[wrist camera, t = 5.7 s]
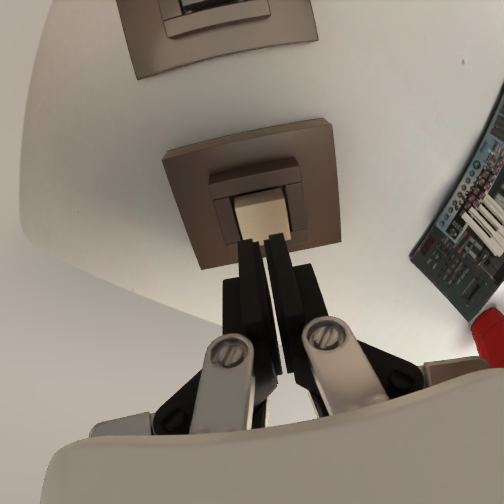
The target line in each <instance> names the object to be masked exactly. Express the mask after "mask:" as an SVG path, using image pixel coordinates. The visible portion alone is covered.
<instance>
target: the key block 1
mask: <svg viewBox="0 0 504 504" xmlns="http://www.w3.org/2000/svg"><path fill="white" fill-rule="evenodd" d="M116 2H117V6H118V10H119V14H120V18H121V22H122V26H123V30H124V34H125V38H126V42H127V46H128V49H129V53H130V57H131V60H132V64H133V68H134V71H135V75H136V78H137V80H140V79H143V78H147V77H150V76H153V75H156V74H159V73H162V72H165V71H168V70H172V69H175V68H178V67H182V66H185V65H189V64H193V63H196V62H200V61H204V60H208V59H212V58H216V57H221V56H225V55H230V54H235V53H239V52H245V51H250V50H255V49H261V48H267V47H274V46H281V45H288V44H297V43H306V42H314V41H318V40H319V39H318V34H317V29H316V24H315V20H314V15H313V10H312V6H311V1H310V0H233V1H227V2H223V3H218V4H213V5H209V6H205V7H201V8H197V9H193V10H189V11H187V10H186V9H185V8H184V7H183V6H182V2H181V0H116Z"/></svg>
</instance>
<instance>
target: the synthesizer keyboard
mask: <svg viewBox="0 0 504 504" xmlns="http://www.w3.org/2000/svg"><path fill="white" fill-rule="evenodd" d="M410 261H411V262H412V263H413V264H414V265H415V266H416V267H417V268H418V269H419V270H420V271H421V272H422V273H423V274H424V275H425V276H426V277H427V278H428V279H429V280H430V281H431V282H432V283H433V284H434V285H435V286H436V287H437V288H438V289H439V290H440V292H441V293H442V294H443V295H444V296H445V297H446V298H447V299H448V300H449V301H450V302H451V303H452V305H453V306H454V307H455V308H456V309H457V310H458V311H459V312H460V313H461V315H462V316H463V317H464V318H465V319H466V320H467V321H468V322H470V321H471V320H472V319H473V318H474V317H475V315H476V314H477V313H478V312H479V311H480V310H481V308H482V307H483V306H484V305H485V304H486V302H487V301H488V300H489V299H490V298H491V296H492V295H493V294H494V293H495V291H496V290H497V289H498V287H499V286H500V285H501V284H502V282H503V281H504V92H503V94H502V97H501V99H500V102H499V104H498V106H497V108H496V111H495V113H494V115H493V117H492V120H491V122H490V124H489V126H488V128H487V130H486V132H485V134H484V137H483V139H482V141H481V143H480V145H479V147H478V149H477V150H476V152H475V154H474V156H473V158H472V160H471V162H470V164H469V166H468V168H467V169H466V171H465V173H464V175H463V177H462V178H461V180H460V182H459V184H458V185H457V187H456V189H455V191H454V192H453V194H452V196H451V197H450V199H449V201H448V202H447V204H446V206H445V207H444V209H443V211H442V212H441V214H440V215H439V217H438V219H437V220H436V222H435V223H434V225H433V226H432V228H431V230H430V231H429V233H428V234H427V236H426V237H425V239H424V240H423V242H422V243H421V245H420V246H419V247H418V249H417V250H416V252H415V253H414V255H413V256H412V258H411V259H410Z"/></svg>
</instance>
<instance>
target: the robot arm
mask: <svg viewBox="0 0 504 504" xmlns="http://www.w3.org/2000/svg"><path fill="white" fill-rule="evenodd" d="M268 236H269V239H267V240H263V241H264V247H265V253H266V258H267V264H268V270H269V276H270V281H271V287H272V293H273V299H274V305H275V311H276V316H277V322H278V327H279V332H280V337H281V342H282V347H283V352H284V358H285V363H286V368H287V373H293V372H294V376H295V381H296V383H297V384H298V385H300V386H302V387H304V388H306V389H307V391H308V395H309V397H310V400H311V402H312V405H313V408H314V410H315V413H316V415H317V418H318V419H313V420H308V421H302V422H297V423H292V424H285V425H279V426H273V427H268V417H269V401H270V400H269V395H270V394H271V393H272V392H273V390H274V389H275V388H276V387H277V384H278V382H277V381H278V380H277V375H282V367H281V360H280V354H279V348H278V341H277V335H276V328H275V322H274V316H273V309H272V303H271V298H270V292H269V288H268V283H267V278H266V273H265V268H264V264H263V259H262V254H261V249H260V245H259V241H257V242H253V239H252V238H251V239H246V240H241V241H238V262H239V277H236V278H231V279H225V280H223V335H222V336H220V337H218V338H216V339H215V340H214V341H212V342H211V344H210V345H209V346H208V348H207V351H206V353H205V358H204V363H203V368H202V369H201V370H200V371H199V372H198V373H197V374H196V375H195V376H194V377H193V378H192V379H191V380H189V382H187V383H186V384H185V385H184V386H183V387H182V388H181V389H180V390H179V391H178V392H176V393H175V394H174V395H173V396H172V397H171V398H170V399H169V400H168V401H166V402H165V403H164V404H163V405H162V406H161V407H160V408H159V409H158V410H157V412H156V413H152V414H150V413H149V412H144V413H141V414H136V415H132V416H127V417H123V418H119V419H114V420H110V421H105V422H101V423H98V424H96V425H95V426H94V427H93V428H92V430H91V431H90V433H89V438H86V439H83V440H79V441H76V442H73V443H71V444H69V445H66V446H64V447H63V448H61V449H60V450H58V451H57V452H56V453H55V454H54V456H53V457H52V459H51V461H50V463H49V466H48V468H47V471H46V475H45V479H44V483H43V487H42V493H41V500H40V504H504V368H491V366H490V364H489V363H488V362H487V361H486V360H485V359H484V358H481V357H479V356H471V357H464V358H457V359H450V360H442V361H434V362H425V363H424V365H423V366H416V365H414V364H412V363H411V362H408V361H406V360H403V359H401V358H399V357H396V356H394V355H391V354H389V353H387V352H384V351H382V350H380V349H377V348H375V347H373V346H370V345H368V344H366V343H363V342H361V341H359V340H356V338H355V336H354V334H353V333H352V331H351V329H350V328H349V326H348V325H347V324H346V323H345V322H344V321H343V320H341V319H339V318H336V317H333V316H328V312H327V309H326V306H325V303H324V300H323V297H322V294H321V291H320V288H319V285H318V282H317V280H316V277H315V274H314V271H313V268H312V265H311V264H310V263H309V264H304V265H299V266H294V267H292V263H291V259H290V256H289V252H288V248H287V245H286V241H285V238H284V234H283V232H282V233H277V234H272V235H268Z"/></svg>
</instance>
